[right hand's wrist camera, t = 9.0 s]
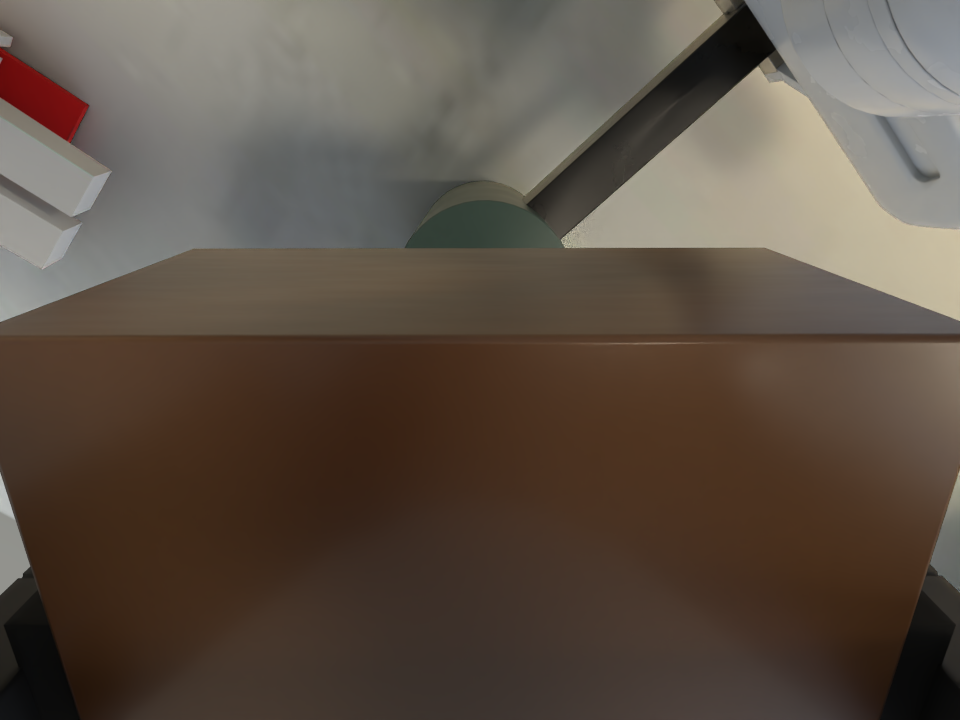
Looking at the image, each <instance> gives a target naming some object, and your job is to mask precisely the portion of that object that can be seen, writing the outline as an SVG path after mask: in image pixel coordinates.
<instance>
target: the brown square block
mask: <svg viewBox="0 0 960 720" xmlns="http://www.w3.org/2000/svg"><path fill="white" fill-rule="evenodd" d="M959 470H960V321H958V320H955V319H953V318H950V317H947V316H945V315H942V314H939V313H937V312H934V311H931V310H929V309H926V308H923V307H921V306H918V305H915V304H913V303H910V302H907V301H905V300H902V299H899V298H897V297H894V296H891V295H889V294H886V293H884V292H881V291H878V290H876V289H873V288H870V287H868V286H865V285H862V284H860V283H857V282H854V281H852V280H849V279H846V278H844V277H841V276H838V275H836V274H833V273H830V272H828V271H825V270H822V269H820V268H817V267H814V266H812V265H809V264H806V263H804V262H801V261H798V260H796V259H793V258H790V257H788V256H785V255H782V254H780V253H777V252H774V251H772V250H769V249H766V248H286V249H192V250H189V251H186V252H184V253H181V254H178V255H176V256H173V257H171V258H168V259H165V260H163V261H160V262H157V263H155V264H152V265H150V266H147V267H144V268H142V269H139V270H136V271H134V272H131V273H129V274H126V275H123V276H121V277H118V278H115V279H113V280H110V281H107V282H105V283H102V284H100V285H97V286H94V287H92V288H89V289H86V290H84V291H81V292H79V293H76V294H73V295H71V296H68V297H65V298H63V299H60V300H58V301H55V302H52V303H50V304H47V305H44V306H42V307H39V308H37V309H34V310H31V311H29V312H26V313H23V314H21V315H18V316H16V317H13V318H10V319H8V320H5V321H2V322H0V473H1V476H2V479H3V482H4V485H5V488H6V491H7V495H8V498H9V501H10V504H11V507H12V510H13V513H14V516H15V519H16V522H17V526H18V529H19V532H20V535H21V538H22V541H23V544H24V548H25V551H26V554H27V557H28V560H29V563H30V566H31V569H32V573H33V576H34V579H35V582H36V585H37V588H38V591H39V594H40V597H41V601H42V604H43V607H44V610H45V613H46V616H47V619H48V622H49V626H50V629H51V632H52V635H53V638H54V641H55V644H56V647H57V650H58V654H59V657H60V660H61V663H62V666H63V669H64V672H65V675H66V679H67V682H68V685H69V688H70V691H71V694H72V697H73V700H74V704H75V707H76V710H77V713H78V716H79V719H80V720H880V718H881V715H882V712H883V709H884V706H885V702H886V699H887V696H888V693H889V690H890V687H891V684H892V680H893V677H894V674H895V671H896V668H897V665H898V662H899V658H900V655H901V652H902V649H903V646H904V643H905V640H906V636H907V633H908V630H909V627H910V624H911V621H912V618H913V614H914V611H915V608H916V605H917V602H918V599H919V596H920V592H921V589H922V586H923V583H924V580H925V577H926V573H927V570H928V567H929V564H930V561H931V558H932V555H933V551H934V548H935V545H936V542H937V539H938V536H939V533H940V529H941V526H942V523H943V520H944V517H945V514H946V511H947V507H948V504H949V501H950V498H951V495H952V492H953V489H954V485H955V482H956V479H957V476H958V473H959Z"/></svg>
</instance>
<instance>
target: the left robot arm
mask: <svg viewBox="0 0 960 720" xmlns="http://www.w3.org/2000/svg"><path fill="white" fill-rule="evenodd" d="M714 1H715V3H716V4H717V6H718V7H719V8H720V10H721V11H722V13H723V14H724V15H728V14H729V13H732V12H734V11H736V10H737V9H738V8H740V7H741V6H742V5H743V4H744V3H745V2H746V4H747V5H748V7H749V8H750V10H751V11H752V13H753V14H754V16H755V17H756V19H757V21H758V22H759V24H760V25H761V27H762V28H763V30H764V31H765V33H766V34H767V36H768V37H769V39H770V40H771V42H772V43H773V45H774V46H775V48H776V49H777V50H775V51H774V52H773V53H772V54H771V55H770V56H769V57H767V58H766V59H765V60H764V61H763V62H762V63H761V64H759V65H758V66H759V67H760V69H761V70H762V72H763V74H764V75H765V77H766V78H767V80H768V81H769V83H772V82H777V81H784V82H785V83H786V84H788V85H789V86H791V87H793V88H794V89H796V90H797V91H799V92H801V93H802V94H804V95H805V96H807V97H808V98H809V100H810V101H811V103H812V104H813V106H814V107H815V109H816V110H817V112H818V113H819V115H820V116H821V118H822V119H823V121H824V123H825V124H826V126H827V127H828V129H829V130H830V132H831V133H832V135H833V136H834V138H835V139H836V141H837V142H838V144H839V145H840V147H841V148H842V150H843V151H844V153H845V155H846V156H847V158H848V159H849V161H850V162H851V164H852V165H853V167H854V168H855V170H856V171H857V173H858V174H859V176H860V177H861V179H862V180H863V182H864V183H865V185H866V187H867V188H868V190H869V191H870V193H871V194H872V196H873V198H874V199H875V201H876V202H877V203H878V205H879V206H880V207H881V208H882V209H883V210H885V211H886V212H887V213H889V214H890V215H892V216H893V217H895V218H896V219H898V220H899V221H901V222H903V223H905V224H908V225H913V226H920V227H929V228H939V229H959V230H960V0H714Z"/></svg>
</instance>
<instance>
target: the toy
mask: <svg viewBox="0 0 960 720" xmlns="http://www.w3.org/2000/svg"><path fill="white" fill-rule="evenodd" d="M12 40H13V37H12V36H10V35H9V34H7V33H5V32H3V31H2V30H0V46H1V47H11V43H12ZM88 107H89V105H88V104H86V103H85V102H83V101H82V100H80V99H79V98H77V97H76V96H74V95H72V94H71V93H69V92H68V91H66V90H65V89H63V88H62V87H60V86H59V85H57V84H56V83H54V82H52V81H51V80H49V79H48V78H46V77H45V76H43V75H42V74H40V73H39V72H37V71H36V70H34V69H32V68H31V67H29V66H28V65H26V64H25V63H23V62H22V61H20V60H19V59H17V58H16V57H14V56H13V55H11V54H9V53H8V52H6V51H5V50H3V49H2V48H0V246H2V247H3V248H5V249H7V250H9V251H10V252H12V253H14V254H16V255H17V256H19V257H21V258H23V259H24V260H26V261H28V262H29V263H31V264H33V265H35V266H36V267H38V268H40V269H44V268H46V267H47V266H49V265H51V264H53V263H55V262H57V261H59V260H61V259H62V258H63V256H64V254H65V253H66V251H67V249H68V247H69V245H70V244H71V242H72V240H73V238H74V237H75V235H76V233H77V231H78V230H79V228H80V226H81V224H82V222H81V221H79V220H77V219H76V218H74V217H73V216H75V215H78V214H80V213H82V212H85V211H87V210H90V209H91V207H92V205H93V203H94V202H95V200H96V198H97V196H98V195H99V193H100V191H101V189H102V188H103V186H104V184H105V182H106V181H107V179H108V177H109V175H110V174H111V172H112V171H111V170H110V169H108V168H107V167H105V166H104V165H102V164H101V163H99V162H98V161H96V160H95V159H93V158H92V157H90V156H89V155H87V154H85V153H84V152H82V151H81V150H79V149H78V148H76V147H75V146H73V145H72V144H70V142H71V140H72V138H73V136H74V134H75V132H76V130H77V128H78V126H79V124H80V122H81V120H82V118H83V116H84V115H85V113H86V111H87V109H88Z"/></svg>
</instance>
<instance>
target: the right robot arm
mask: <svg viewBox="0 0 960 720" xmlns="http://www.w3.org/2000/svg"><path fill="white" fill-rule="evenodd" d="M0 720H80V719H79V716H78V713H77V710H76V707H75V704H74V700H73V697H72V694H71V691H70V688H69V685H68V682H67V679H66V675H65V672H64V669H63V666H62V663H61V660H60V657H59V654H58V650H57V647H56V644H55V641H54V638H53V635H52V632H51V629H50V626H49V622H48V619H47V616H46V613H45V610H44V607H43V604H42V601H41V597H40V594H39V591H38V588H37V585H36V582H35V579H34V576H33V573H32V569H31V567H30V568H28V569H27V570H26V571H25V572H24V573H23V577H22V578H18V579H17V580H16V581H15V582H14V583H13V584H12V585H11V586H10V587H9V588H8V589H6V590H5V591H4V592H3V593H2V594H1V595H0ZM880 720H960V593H959V592H958V591H957V590H956V589H955V588H954V587H953V586H952V585H951V584H950V583H949V582H948V581H947V580H946V579H945V578H944V577H943V576H938V574H937V571H936V570H935V569H934V568H933V567H932V566H931V565H930V564H929V567H928V570H927V573H926V577H925V580H924V583H923V586H922V589H921V592H920V596H919V599H918V602H917V605H916V608H915V611H914V614H913V618H912V621H911V624H910V627H909V630H908V633H907V636H906V640H905V643H904V646H903V649H902V652H901V655H900V658H899V662H898V665H897V668H896V671H895V674H894V677H893V680H892V684H891V687H890V690H889V693H888V696H887V699H886V702H885V706H884V709H883V712H882V715H881V718H880Z"/></svg>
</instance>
